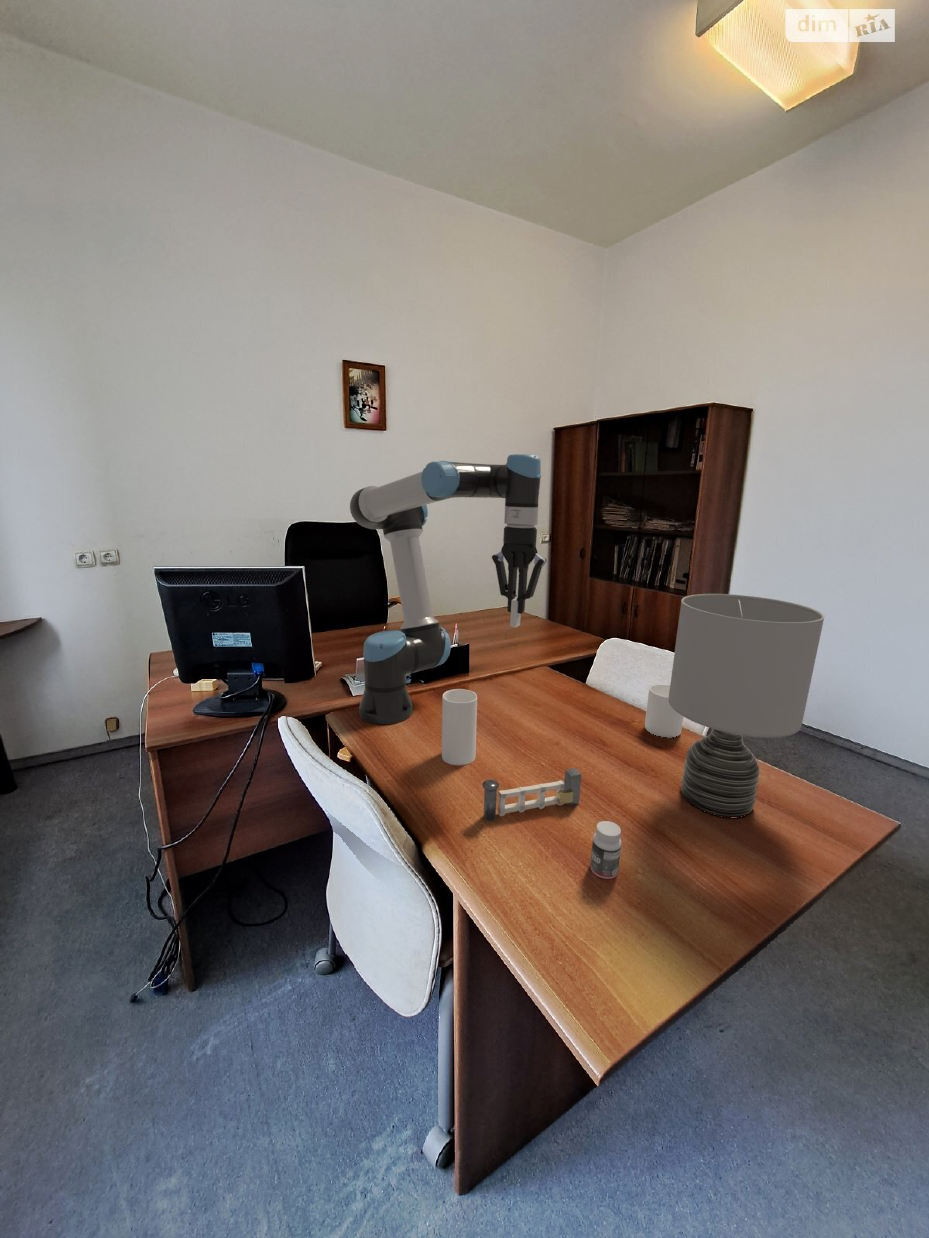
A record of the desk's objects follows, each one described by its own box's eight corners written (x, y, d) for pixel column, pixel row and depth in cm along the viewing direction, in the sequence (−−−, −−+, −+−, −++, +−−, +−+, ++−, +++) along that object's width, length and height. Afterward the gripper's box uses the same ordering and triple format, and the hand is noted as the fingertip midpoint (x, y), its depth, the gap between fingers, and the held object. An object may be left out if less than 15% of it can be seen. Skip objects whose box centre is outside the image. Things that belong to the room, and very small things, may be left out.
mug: (658, 740, 132) (664, 699, 129) (631, 721, 143) (636, 682, 141) (688, 736, 135) (694, 696, 132) (659, 717, 146) (664, 680, 143)
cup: (472, 767, 118) (473, 704, 114) (438, 763, 119) (438, 700, 115) (478, 750, 126) (479, 690, 122) (446, 746, 127) (446, 687, 123)
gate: (500, 816, 100) (501, 794, 99) (497, 812, 101) (498, 790, 100) (562, 804, 104) (564, 783, 103) (560, 801, 105) (561, 780, 104)
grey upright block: (552, 801, 106) (554, 771, 104) (573, 797, 107) (575, 768, 105) (559, 810, 103) (561, 779, 101) (580, 805, 104) (583, 775, 103)
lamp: (731, 851, 92) (772, 629, 81) (633, 784, 113) (655, 599, 102) (807, 815, 103) (852, 614, 92) (705, 759, 123) (732, 590, 113)
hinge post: (479, 813, 101) (480, 781, 99) (494, 810, 102) (495, 778, 100) (484, 823, 98) (486, 790, 96) (500, 820, 99) (501, 787, 97)
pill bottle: (586, 860, 89) (590, 819, 87) (612, 859, 89) (616, 818, 87) (595, 880, 85) (599, 837, 82) (622, 879, 85) (627, 836, 83)
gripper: (487, 525, 114) (483, 625, 120) (542, 528, 108) (535, 633, 114) (500, 523, 120) (496, 618, 126) (553, 526, 114) (546, 626, 121)
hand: (515, 625), depth 120 cm, fingers closed
